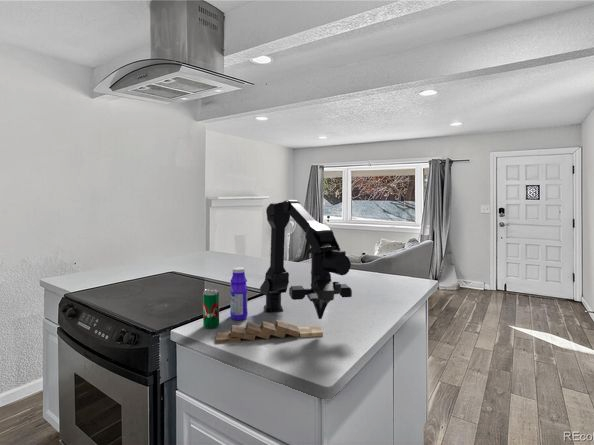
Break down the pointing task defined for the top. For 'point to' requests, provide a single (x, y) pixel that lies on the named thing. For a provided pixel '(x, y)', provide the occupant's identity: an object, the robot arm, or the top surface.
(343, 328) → the top surface
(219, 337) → the domino
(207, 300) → the soda can
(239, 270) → the bottle
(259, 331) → the domino
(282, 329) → the domino
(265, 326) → the domino
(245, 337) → the domino
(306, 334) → the oak domino
